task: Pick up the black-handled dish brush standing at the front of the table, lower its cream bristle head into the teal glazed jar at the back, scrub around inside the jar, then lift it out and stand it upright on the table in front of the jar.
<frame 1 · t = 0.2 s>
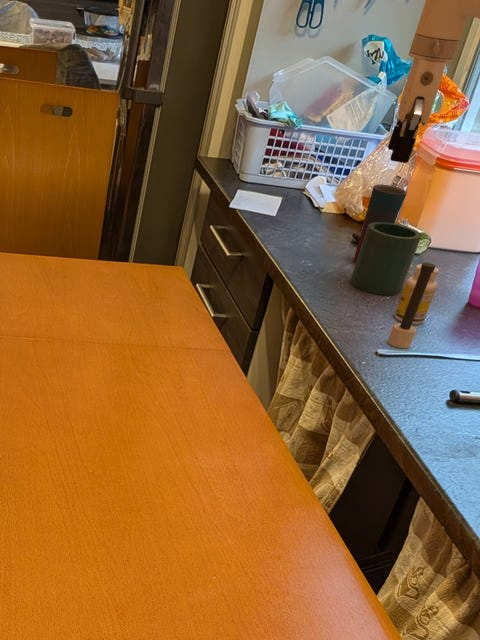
hand: (397, 155, 174), 24 cm above the table, tool pointing down, fingers open, 9 cm apart
jar: (375, 286, 190), on the table
cup: (364, 263, 202), on the table
brush: (398, 343, 167), on the table
supplement bottle: (407, 320, 177), on the table
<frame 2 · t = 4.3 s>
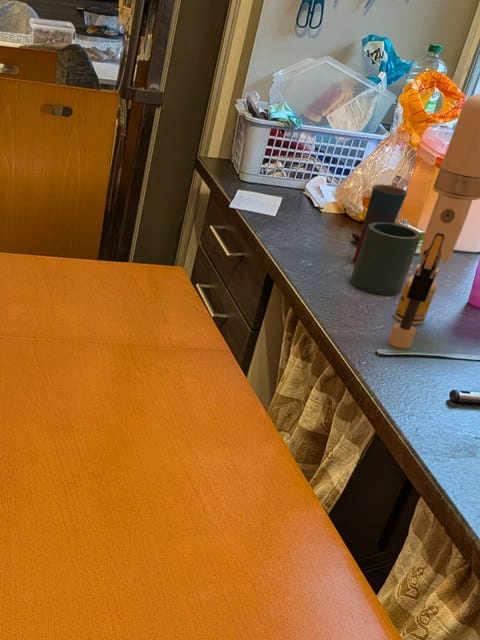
hand: (416, 296, 161), 9 cm above the table, tool pointing down, fingers closed on brush
brush: (398, 343, 167), on the table, touching gripper
everything else where it was.
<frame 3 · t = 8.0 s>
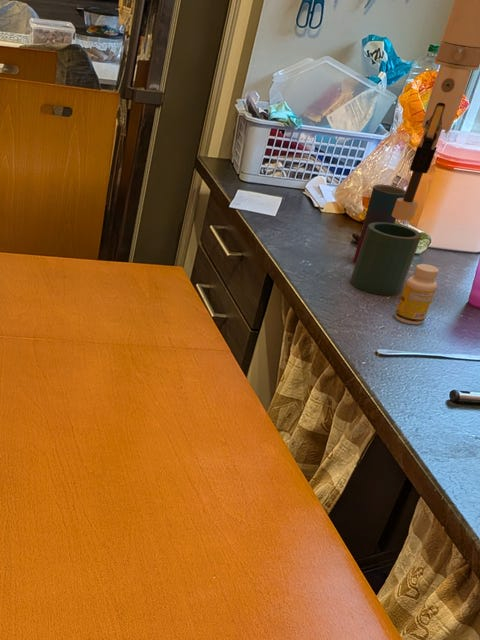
hand: (419, 169, 174), 23 cm above the table, tool pointing down, fingers closed on brush
brush: (402, 217, 180), point 14 cm above the table, touching gripper
everything else where it was.
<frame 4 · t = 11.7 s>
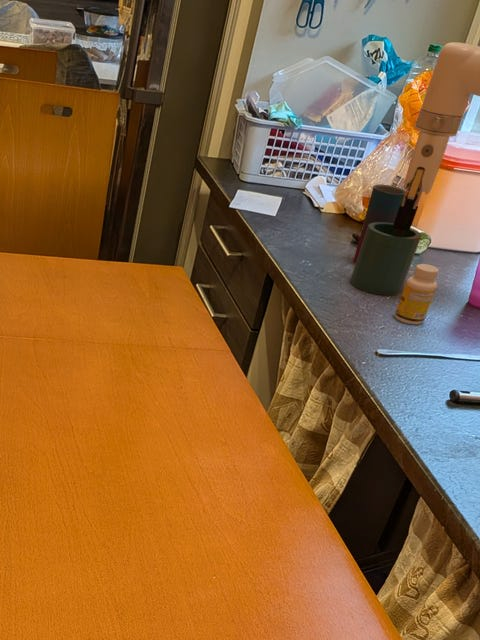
hand: (401, 226, 182), 12 cm above the table, tool pointing down, fingers closed on brush
brush: (386, 271, 188), point 3 cm above the table, touching gripper
everything else where it was.
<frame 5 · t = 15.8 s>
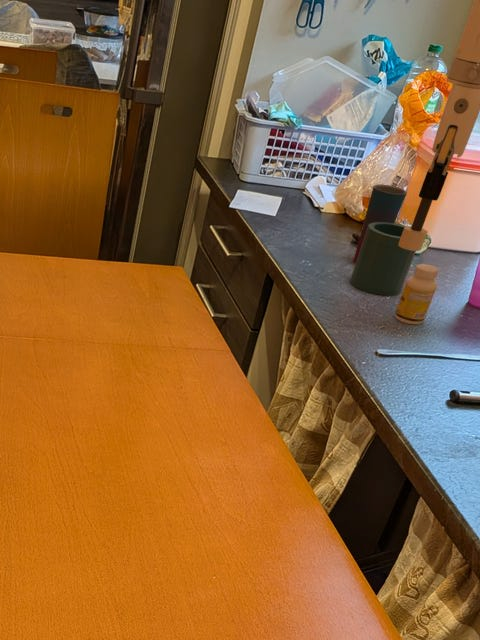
hand: (428, 196, 160), 22 cm above the table, tool pointing down, fingers closed on brush
brush: (409, 247, 165), point 14 cm above the table, touching gripper
everything else where it was.
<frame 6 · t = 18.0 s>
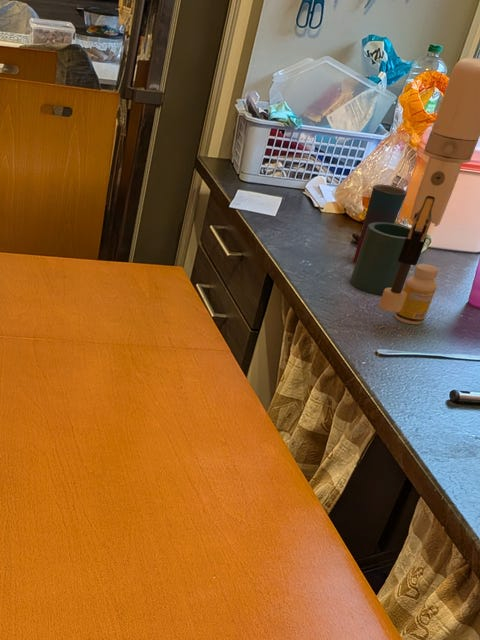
hand: (407, 260, 164), 12 cm above the table, tool pointing down, fingers closed on brush
brush: (389, 308, 170), point 4 cm above the table, touching gripper
everything else where it was.
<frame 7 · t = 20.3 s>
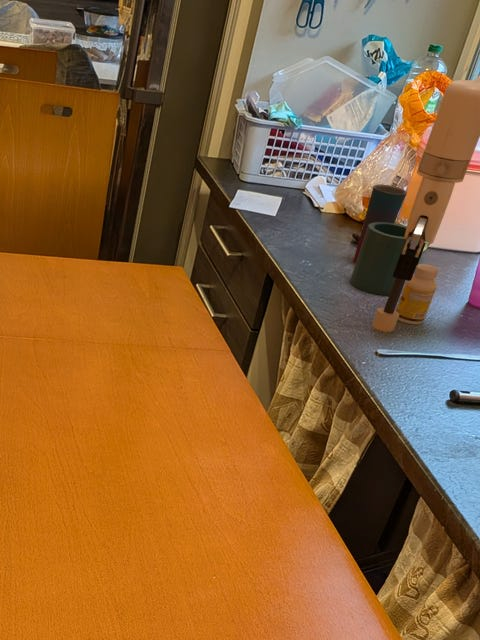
hand: (405, 271, 166), 10 cm above the table, tool pointing down, fingers open, 9 cm apart
brush: (382, 327, 172), on the table
everything else where it was.
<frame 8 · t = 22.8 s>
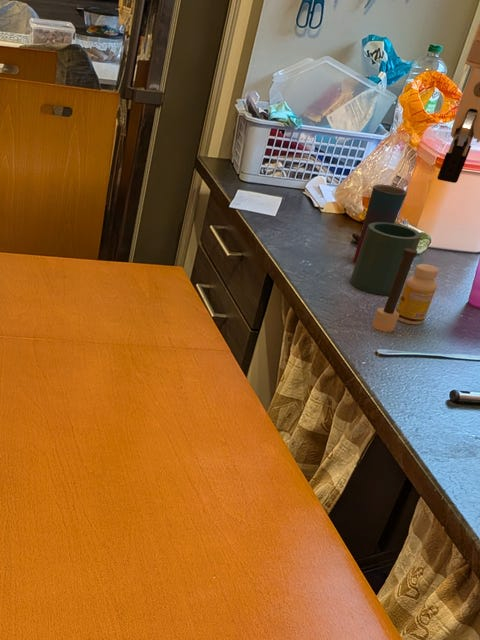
hand: (449, 175, 156), 26 cm above the table, tool pointing down, fingers open, 9 cm apart
nothing on the table moved.
at the end: brush 0.2 cm from the target spot on the table beside the jar, on the table; brush tilted 0°; the gripper is holding nothing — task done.
